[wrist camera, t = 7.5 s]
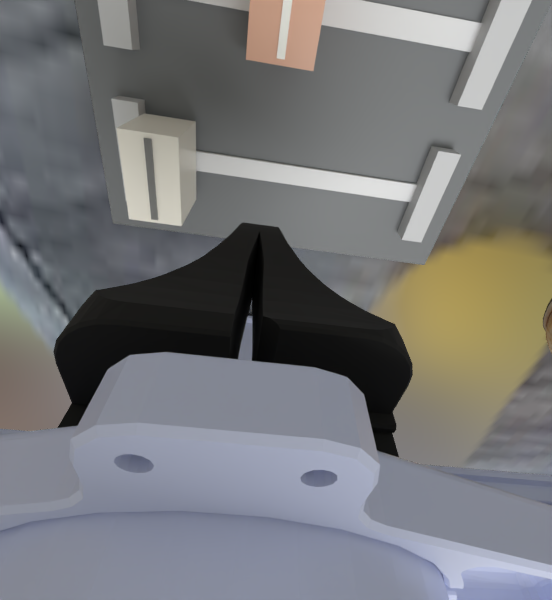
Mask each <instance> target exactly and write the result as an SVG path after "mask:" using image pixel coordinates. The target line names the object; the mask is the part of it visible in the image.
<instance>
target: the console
mask: <svg viewBox="0 0 552 600" xmlns="http://www.w3.org/2000/svg"><path fill="white" fill-rule="evenodd" d="M74 1H75V6H76V12H77V18H78V24H79V30H80V35H81V41H82V47H83V53H84V59H85V64H86V70H87V76H88V82H89V88H90V93H91V99H92V105H93V111H94V116H95V122H96V128H97V134H98V140H99V145H100V151H101V157H102V163H103V169H104V174H105V180H106V186H107V192H108V198H109V203H110V209H111V215H112V221H113V223H114V224H122V225H129V226H137V227H144V228H152V229H159V230H166V231H174V232H181V233H189V234H196V235H204V236H211V237H219V238H227V237H228V236H229V235H230V234H231V233H232V232H233V231H234V230H235V229H236V228H237V227H238V226H239V225H240V224H241V223H243V222H244V223H252V224H259V225H267V226H274V227H279V228H280V230H281V231H282V233H283V235H284V237H285V239H286V241H287V242H288V244H289V245H290V247H294V248H301V249H309V250H316V251H324V252H331V253H339V254H346V255H354V256H361V257H369V258H376V259H384V260H391V261H399V262H406V263H414V264H421V265H424V264H425V262H426V260H427V258H428V256H429V254H430V252H431V250H432V248H433V246H434V244H435V242H436V240H437V238H438V236H439V234H440V231H441V229H442V227H443V225H444V223H445V221H446V219H447V217H448V215H449V213H450V211H451V209H452V207H453V205H454V203H455V201H456V199H457V197H458V195H459V192H460V190H461V188H462V186H463V184H464V182H465V180H466V178H467V176H468V174H469V172H470V170H471V168H472V166H473V164H474V162H475V160H476V158H477V155H478V153H479V151H480V149H481V147H482V145H483V143H484V141H485V139H486V137H487V135H488V133H489V131H490V129H491V127H492V125H493V123H494V121H495V119H496V116H497V114H498V112H499V110H500V108H501V106H502V104H503V102H504V100H505V98H506V96H507V94H508V92H509V90H510V88H511V86H512V84H513V82H514V79H515V77H516V75H517V73H518V71H519V69H520V67H521V65H522V63H523V61H524V59H525V57H526V55H527V53H528V51H529V49H530V47H531V45H532V43H533V40H534V38H535V36H536V34H537V32H538V30H539V28H540V26H541V24H542V22H543V20H544V18H545V16H546V14H547V12H548V10H549V8H550V6H551V3H552V0H326V1H325V7H324V13H323V19H322V24H321V30H320V36H319V42H318V47H317V53H316V59H315V65H314V70H313V71H309V70H303V69H297V68H291V67H286V66H280V65H274V64H268V63H262V62H257V61H251V60H246V50H247V35H248V21H249V6H250V0H74ZM144 113H146V114H152V115H158V116H165V117H171V118H177V119H184V120H190V121H196V201H195V203H194V204H193V206H192V208H191V210H190V212H189V214H188V215H187V217H186V219H185V221H184V223H183V225H182V226H176V225H168V224H161V223H154V222H146V221H139V220H131V219H129V216H128V208H127V201H126V194H125V187H124V180H123V173H122V165H121V158H120V151H119V144H118V137H117V130H116V128H117V127H119V126H121V125H123V124H125V123H127V122H129V121H131V120H133V119H135V118H136V117H138V116H140V115H142V114H144Z"/></svg>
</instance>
